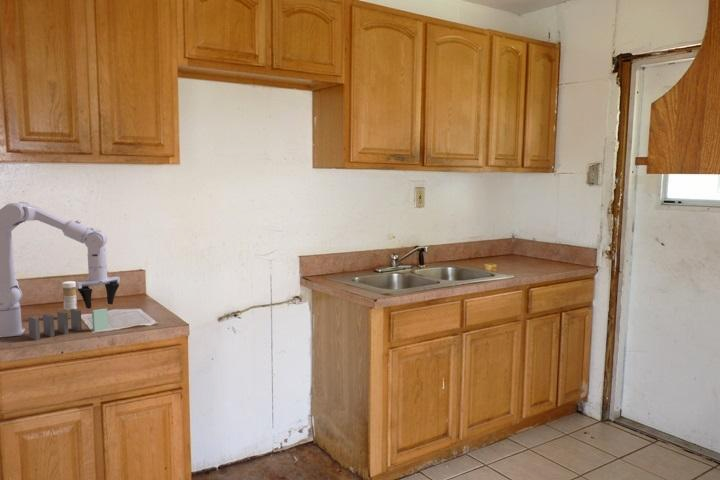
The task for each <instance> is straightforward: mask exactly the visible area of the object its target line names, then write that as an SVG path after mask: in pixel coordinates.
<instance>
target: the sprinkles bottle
mask: <svg viewBox="0 0 720 480" xmlns="http://www.w3.org/2000/svg"><path fill="white" fill-rule="evenodd" d="M76 282H77V281H74V280H68V281H63V282H62V283H61V286H62V287H61V288H62V294H63V295H62V297H63V301H62V302H63V312H66V313H67V314H68V319H71V313H70V309H78V302H77V301H78V300H77V292H76V291H77V288H76Z"/></svg>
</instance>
